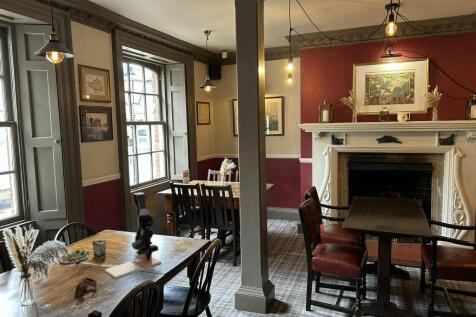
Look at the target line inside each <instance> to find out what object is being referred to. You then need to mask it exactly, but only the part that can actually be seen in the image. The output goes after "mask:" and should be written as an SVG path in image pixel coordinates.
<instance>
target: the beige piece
mask: <svg viewBox="0 0 476 317" xmlns="http://www.w3.org/2000/svg"><path fill="white" fill-rule="evenodd" d="M152 255H153V254H152ZM152 255H151V257H150V259H149V260H148V261H147V256H146V252H145V253H142V254H141V258H137V259H134V260H133V261H132V262H133V263H135V264H136V265H138V266H140V267H142V269H144V270H145V269H148V268H151V267H155V266H158V265H161V264H162V261H160V260H159V259H157V258H154V257H153V256H152Z"/></svg>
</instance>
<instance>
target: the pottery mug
mask: <svg viewBox="0 0 476 317" xmlns="http://www.w3.org/2000/svg"><path fill="white" fill-rule="evenodd" d="M97 284H98V282H97V281H96V280H94V279H92V278H90V277H83V278H82V279H81V280H80V281H79V282H78V283H77V285H76V287H75V291H74V294H75V296H77V297H80V296H85V295H86V291H87V289H88V288H89V287H94V292H96V291H97V288H98V286H97ZM88 286H89V287H88Z"/></svg>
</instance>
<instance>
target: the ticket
mask: <svg viewBox="0 0 476 317" xmlns="http://www.w3.org/2000/svg"><path fill="white" fill-rule="evenodd" d="M142 270H143V268H142V267H140V266H138V265H136V264H135V263H133V261H128V262H125V263H121V264H119V265H115V266H112V267H109V268H105V269H104V272H105V273H106V274H107V275H109V276H111V277H112V278H114V279H116V280H117V279H119V278H122V277H124V276H125V277H126V276H128V275H132V274H133V273H137V272H141V271H142Z"/></svg>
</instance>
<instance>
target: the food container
mask: <svg viewBox="0 0 476 317" xmlns="http://www.w3.org/2000/svg"><path fill="white" fill-rule="evenodd" d="M91 244H92V250H93V258H95V257H96V259H97V258H98V259H97V260H99V259H100V260H99V261H102V260H105V259H106V258H107V257H106V256H107V254H106V253H107V251H106V250H107V246H108V244H107V241H105V240H102V239H101V240H93V241H92V242H91Z"/></svg>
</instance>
